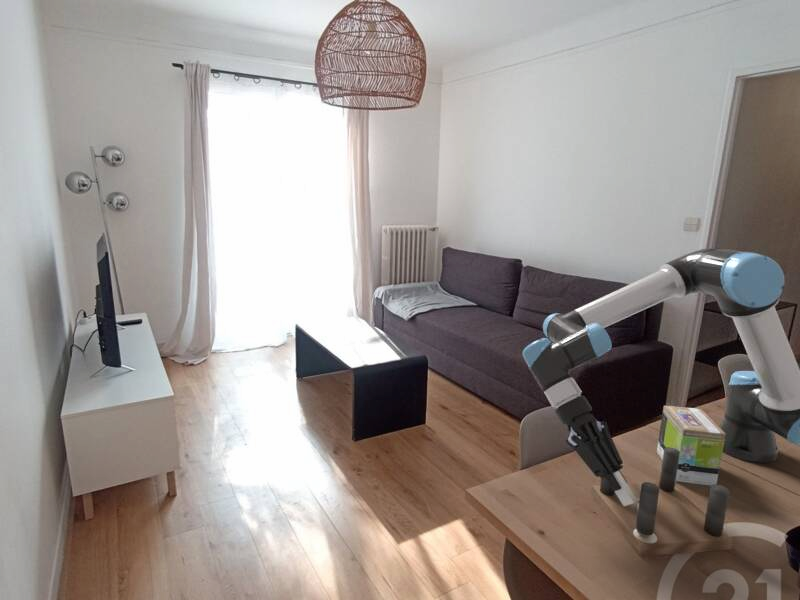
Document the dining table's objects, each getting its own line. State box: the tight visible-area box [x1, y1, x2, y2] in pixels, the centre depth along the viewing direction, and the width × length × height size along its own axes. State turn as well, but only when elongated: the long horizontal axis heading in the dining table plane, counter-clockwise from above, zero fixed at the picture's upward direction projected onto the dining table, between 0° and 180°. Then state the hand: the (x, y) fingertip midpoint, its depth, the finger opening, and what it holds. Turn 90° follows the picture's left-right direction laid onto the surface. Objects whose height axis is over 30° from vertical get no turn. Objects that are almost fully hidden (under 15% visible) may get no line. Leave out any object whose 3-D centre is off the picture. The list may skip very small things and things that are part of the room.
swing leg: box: [636, 481, 659, 537], centre depth 100 cm, size 13×3×11 cm, turn 154°
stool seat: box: [590, 447, 734, 557], centre depth 104 cm, size 20×20×12 cm
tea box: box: [656, 405, 725, 487], centre depth 125 cm, size 15×10×15 cm, turn 168°
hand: (630, 503), depth 99 cm, fingers closed
